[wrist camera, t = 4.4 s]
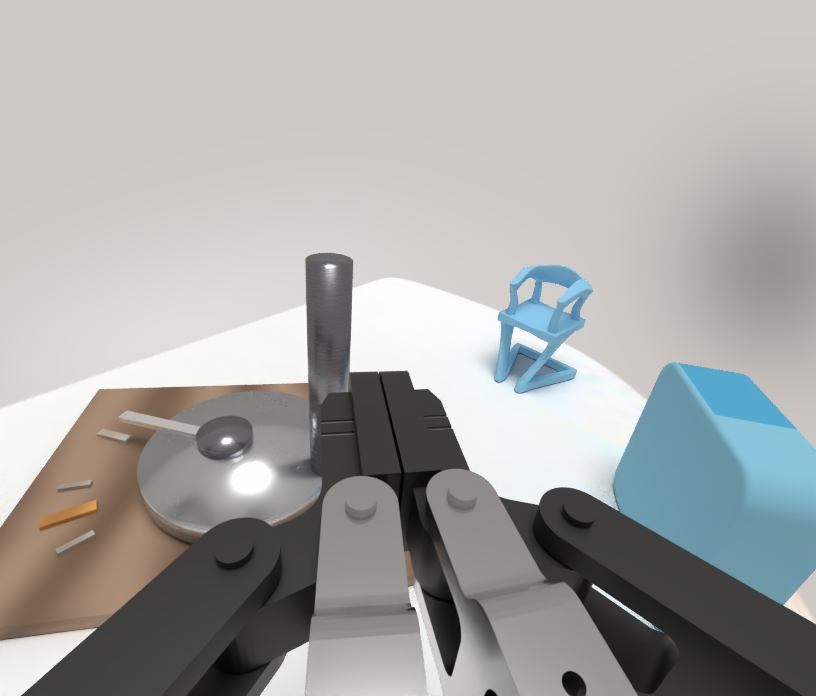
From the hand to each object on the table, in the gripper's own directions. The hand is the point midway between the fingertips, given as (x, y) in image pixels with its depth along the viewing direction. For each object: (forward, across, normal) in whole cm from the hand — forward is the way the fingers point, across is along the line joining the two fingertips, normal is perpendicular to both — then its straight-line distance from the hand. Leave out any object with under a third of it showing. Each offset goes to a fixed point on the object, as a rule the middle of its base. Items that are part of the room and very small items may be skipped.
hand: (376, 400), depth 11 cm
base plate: (+16, -8, -18) cm, 25 cm away
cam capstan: (+16, -8, -16) cm, 24 cm away
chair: (+28, +21, -18) cm, 39 cm away
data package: (+6, +21, -18) cm, 29 cm away
